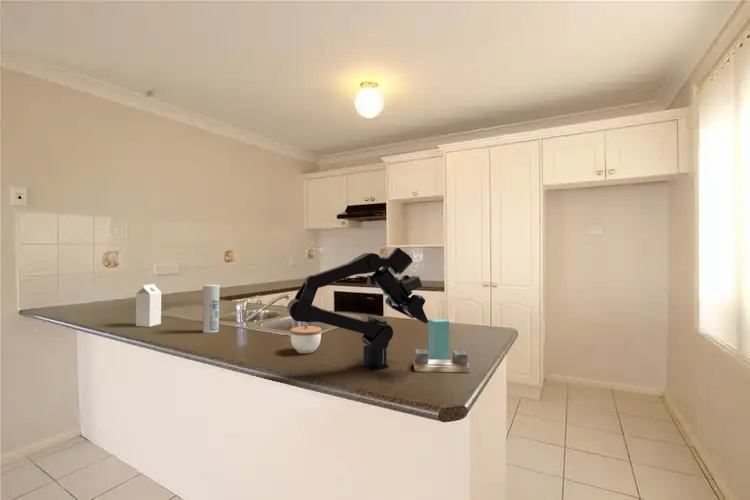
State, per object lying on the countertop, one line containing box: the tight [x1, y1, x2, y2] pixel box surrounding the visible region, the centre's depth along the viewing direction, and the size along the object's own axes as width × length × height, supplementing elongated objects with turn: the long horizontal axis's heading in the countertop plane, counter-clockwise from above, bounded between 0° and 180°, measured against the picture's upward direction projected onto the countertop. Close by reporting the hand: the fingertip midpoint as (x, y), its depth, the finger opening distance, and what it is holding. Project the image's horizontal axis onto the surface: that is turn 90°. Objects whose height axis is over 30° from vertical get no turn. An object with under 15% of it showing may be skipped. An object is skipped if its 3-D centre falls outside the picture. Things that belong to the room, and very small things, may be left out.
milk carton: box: [135, 283, 162, 328], centre depth 171 cm, size 7×7×19 cm
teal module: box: [427, 318, 450, 360], centre depth 120 cm, size 5×4×13 cm
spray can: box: [202, 284, 221, 334], centre depth 160 cm, size 6×6×20 cm
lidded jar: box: [290, 323, 322, 354], centre depth 130 cm, size 11×11×9 cm
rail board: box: [412, 348, 471, 374], centre depth 112 cm, size 16×7×5 cm, turn 87°
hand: (420, 320), depth 118 cm, fingers open, 9 cm apart
